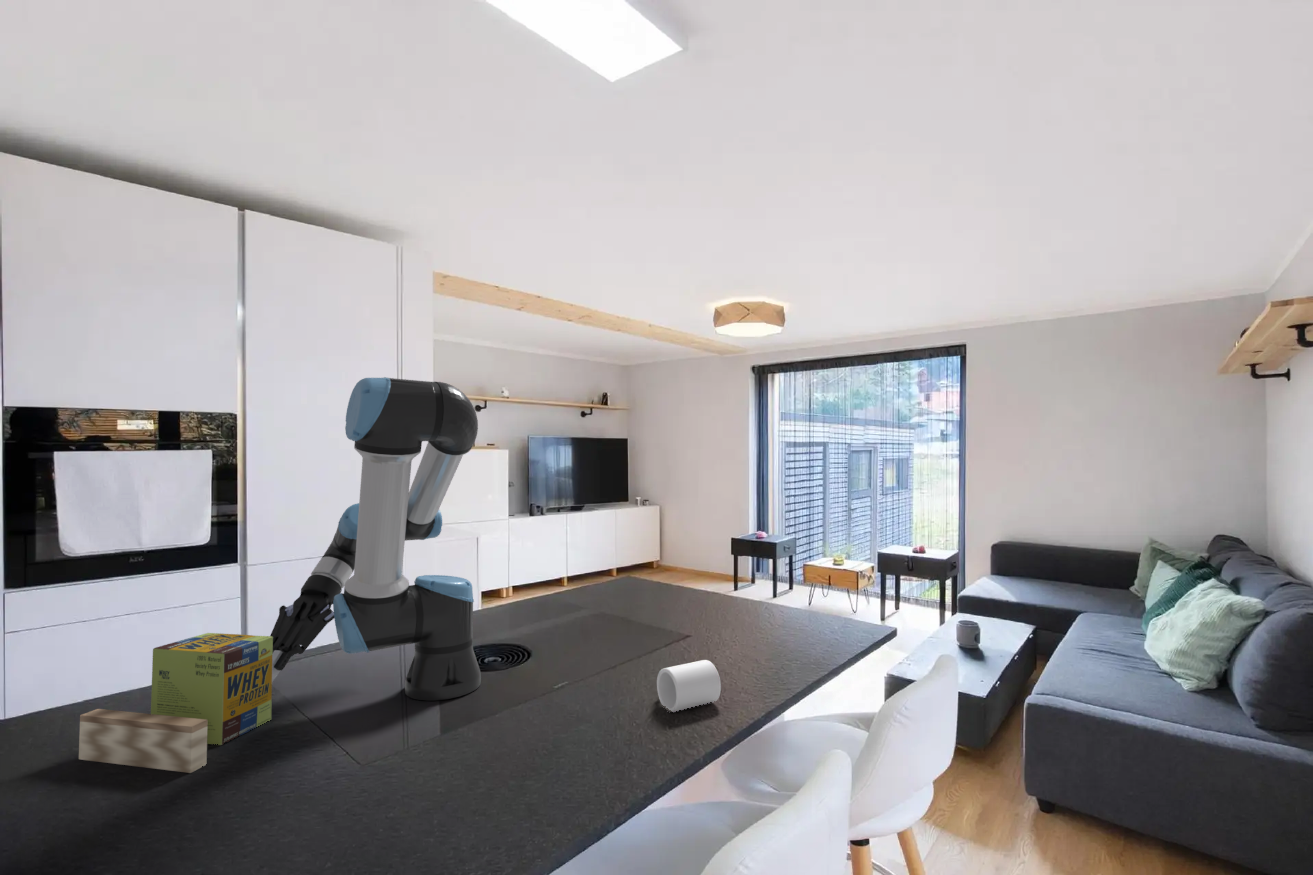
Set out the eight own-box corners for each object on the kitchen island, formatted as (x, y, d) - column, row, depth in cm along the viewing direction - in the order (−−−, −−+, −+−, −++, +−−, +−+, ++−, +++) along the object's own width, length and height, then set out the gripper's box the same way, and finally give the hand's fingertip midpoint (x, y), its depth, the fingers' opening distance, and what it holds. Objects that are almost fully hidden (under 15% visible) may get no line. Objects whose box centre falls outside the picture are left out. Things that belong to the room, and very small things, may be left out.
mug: (721, 707, 117) (721, 666, 117) (678, 719, 112) (677, 675, 112) (687, 687, 127) (687, 649, 128) (646, 697, 122) (646, 657, 122)
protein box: (222, 746, 102) (224, 653, 102) (148, 738, 105) (150, 647, 106) (273, 720, 112) (275, 635, 113) (204, 713, 115) (206, 631, 116)
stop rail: (206, 764, 96) (207, 719, 96) (190, 772, 93) (191, 726, 93) (96, 751, 100) (97, 708, 100) (78, 759, 97) (80, 715, 98)
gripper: (359, 592, 137) (300, 695, 120) (310, 590, 140) (245, 690, 123) (343, 573, 132) (279, 678, 115) (292, 571, 135) (222, 673, 118)
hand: (262, 684), depth 119 cm, fingers closed
